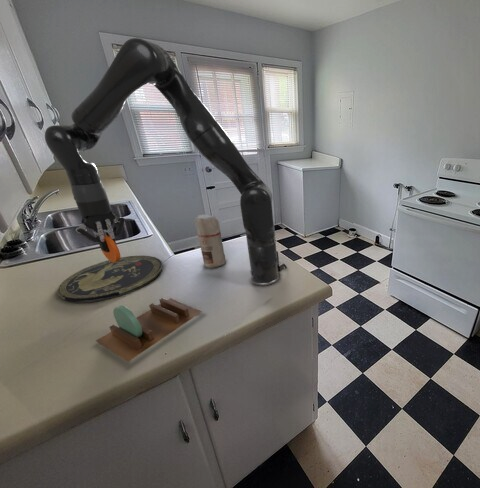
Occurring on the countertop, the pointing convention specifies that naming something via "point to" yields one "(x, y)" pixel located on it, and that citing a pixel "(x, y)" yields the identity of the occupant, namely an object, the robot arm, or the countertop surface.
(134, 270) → the decorative plate
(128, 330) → the green disc
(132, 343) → the rack
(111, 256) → the orange disc
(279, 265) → the robot arm
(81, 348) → the countertop surface
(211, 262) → the spray can
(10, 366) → the countertop surface
